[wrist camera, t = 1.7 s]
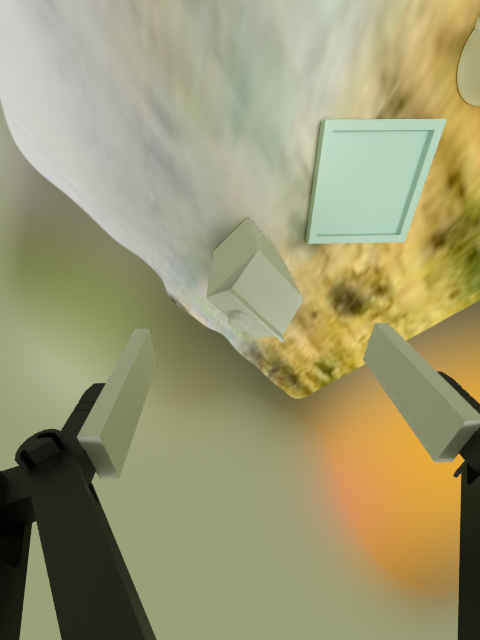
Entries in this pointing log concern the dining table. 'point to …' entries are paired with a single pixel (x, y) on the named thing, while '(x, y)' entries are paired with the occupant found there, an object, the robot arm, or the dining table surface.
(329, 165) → the tray
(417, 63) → the dining table surface
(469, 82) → the mug
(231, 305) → the milk carton
